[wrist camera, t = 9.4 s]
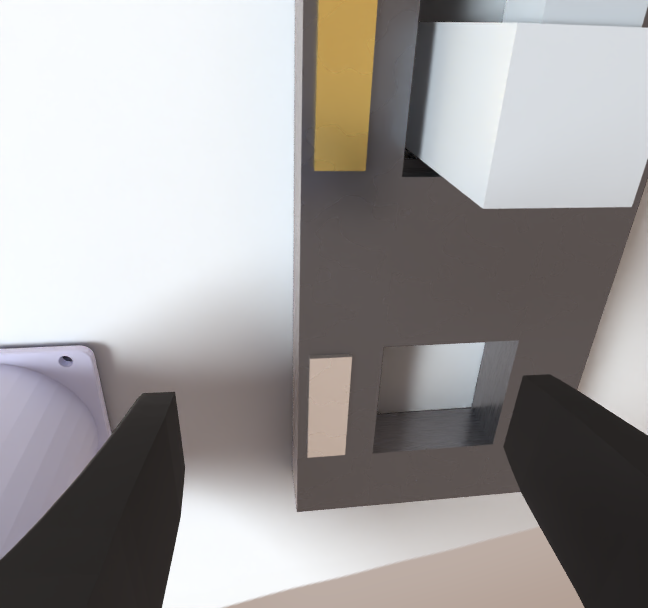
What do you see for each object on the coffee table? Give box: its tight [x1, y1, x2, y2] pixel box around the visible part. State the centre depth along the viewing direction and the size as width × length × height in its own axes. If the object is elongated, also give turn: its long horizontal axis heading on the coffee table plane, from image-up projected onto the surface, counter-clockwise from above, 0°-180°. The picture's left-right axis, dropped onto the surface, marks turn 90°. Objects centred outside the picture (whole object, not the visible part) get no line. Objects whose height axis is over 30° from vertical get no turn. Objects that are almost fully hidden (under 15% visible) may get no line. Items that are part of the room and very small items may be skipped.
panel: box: [292, 0, 648, 512], centre depth 19 cm, size 12×24×3 cm, turn 178°
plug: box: [405, 0, 648, 209], centre depth 15 cm, size 4×5×7 cm
